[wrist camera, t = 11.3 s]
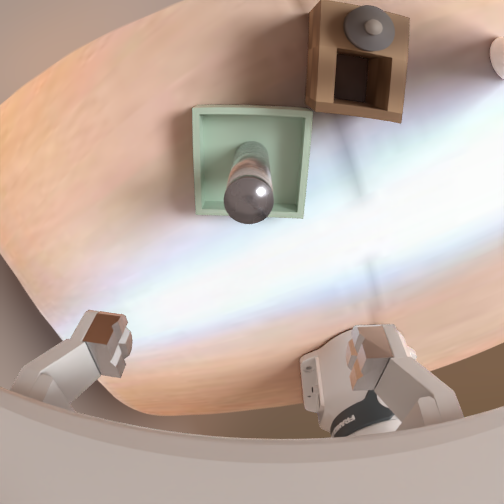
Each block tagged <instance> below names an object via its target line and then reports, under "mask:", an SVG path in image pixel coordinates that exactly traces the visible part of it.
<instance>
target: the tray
mask: <svg viewBox="0 0 504 504" xmlns="http://www.w3.org/2000/svg"><path fill="white" fill-rule="evenodd" d="M312 119H313V111H312V110H311V109H309V108H301V107H287V106H268V105H231V104H215V105H196V106H195V107H193V108H192V127H193V163H194V188H195V209H196V215H223V216H229V214H228V213H227V212H226V210H225V207H224V194H225V190H226V186H227V182H228V178H229V174H230V170H231V167H232V163H233V159H234V155H235V152H236V150H237V148H238V147H239V146H240V145H241V144H242V143H244V142H247V141H255V142H259V143H261V144H262V145H263V146H264V147H265V148H266V149H267V151H268V155H269V163H270V171H271V180H272V188H273V197H274V205H273V208H272V211H271V212H270V214H269V215H268V216H267V217H279V218H301V219H303V215H304V206H305V197H306V187H307V177H308V166H309V155H310V144H311V132H312Z"/></svg>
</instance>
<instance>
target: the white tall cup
mask: <svg viewBox="0 0 504 504" xmlns="http://www.w3.org/2000/svg"><path fill="white" fill-rule="evenodd" d="M490 60H491V63H492V66H493V68H494V70H495V72H496V73H497V74H498V75H499V76H500V77H501V78H502V79H503V80H504V37H498V38H496V39H495V40H494V41H493V42H492V44H491V47H490Z"/></svg>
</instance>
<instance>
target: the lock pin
mask: <svg viewBox="0 0 504 504" xmlns="http://www.w3.org/2000/svg"><path fill="white" fill-rule="evenodd" d="M273 205H274V197H273V188H272V180H271V171H270V163H269V155H268V151H267V149H266V148H265V147H264V146H263V145H262V144H261V143H259V142H255V141H247V142H244V143H242V144H241V145H240V146H239V147H238V148H237V150H236V152H235V155H234V159H233V163H232V167H231V170H230V174H229V178H228V182H227V186H226V190H225V194H224V207H225V210H226V212H227V213H228V214H229V216H230V217H231V218H233V219H234V220H236V221H238V222H240V223H244V224H253V223H258V222H260V221H262V220H264V219H265V218H266V217H267V216H268V215H269V214H270V212H271V211H272V208H273Z"/></svg>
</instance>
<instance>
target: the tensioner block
mask: <svg viewBox="0 0 504 504" xmlns="http://www.w3.org/2000/svg"><path fill="white" fill-rule="evenodd" d="M409 20H410V18H408V17H405V16H401V15H397V14H394V13H390V12H386V11H383V10H381V9H379V8H377V7H374V6H369V5H365V6H358V5H353V4H347V3H341V2H335V1H329V0H320V1H319V2H318V3H317V5H316V6H315V7H314V8H313V9H312V10H311V11H310V12H309V35H308V57H307V76H306V93H305V104H306V105H307V106H309V107H310V108H311V109H313V110H314V111H315V112H324V113H333V114H342V115H350V116H358V117H365V118H372V119H378V120H385V121H391V122H396V123H401V120H402V112H403V103H404V94H405V85H406V74H407V61H408V45H409ZM337 54H343V55H349V56H356V57H361V58H367V59H368V70H367V83H366V94H365V102H358V101H351V100H344V99H336V98H334V87H335V73H336V57H337Z"/></svg>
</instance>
